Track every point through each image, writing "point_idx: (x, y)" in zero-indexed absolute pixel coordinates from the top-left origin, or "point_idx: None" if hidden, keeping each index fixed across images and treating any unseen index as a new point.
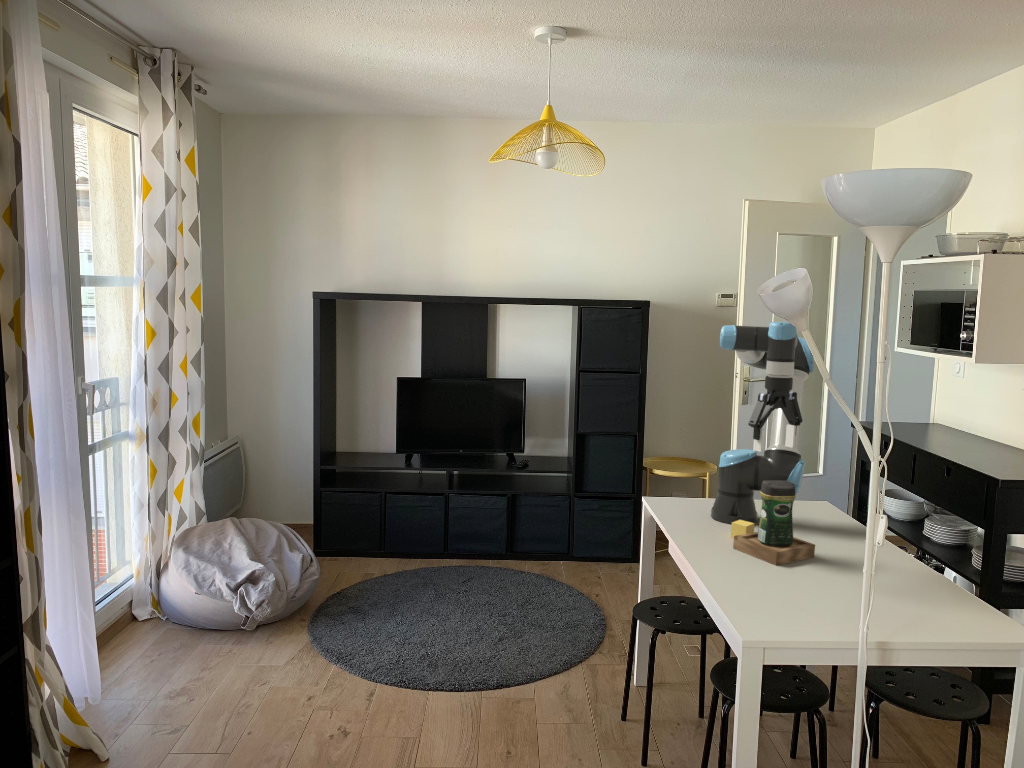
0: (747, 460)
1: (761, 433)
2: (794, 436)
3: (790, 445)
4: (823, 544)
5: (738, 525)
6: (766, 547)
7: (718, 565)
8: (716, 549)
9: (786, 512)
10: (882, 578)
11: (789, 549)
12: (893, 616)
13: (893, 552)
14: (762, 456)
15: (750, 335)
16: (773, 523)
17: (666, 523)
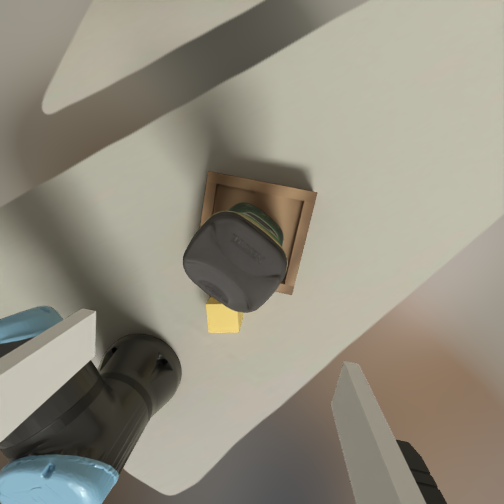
0: (69, 453)
1: (414, 481)
2: (27, 347)
3: (88, 330)
4: (133, 200)
5: (238, 318)
6: (306, 220)
7: (394, 254)
8: (318, 300)
9: (254, 215)
10: (216, 24)
11: (280, 186)
12: None
13: (59, 93)
14: (10, 444)
15: None
16: (277, 231)
17: (264, 418)
